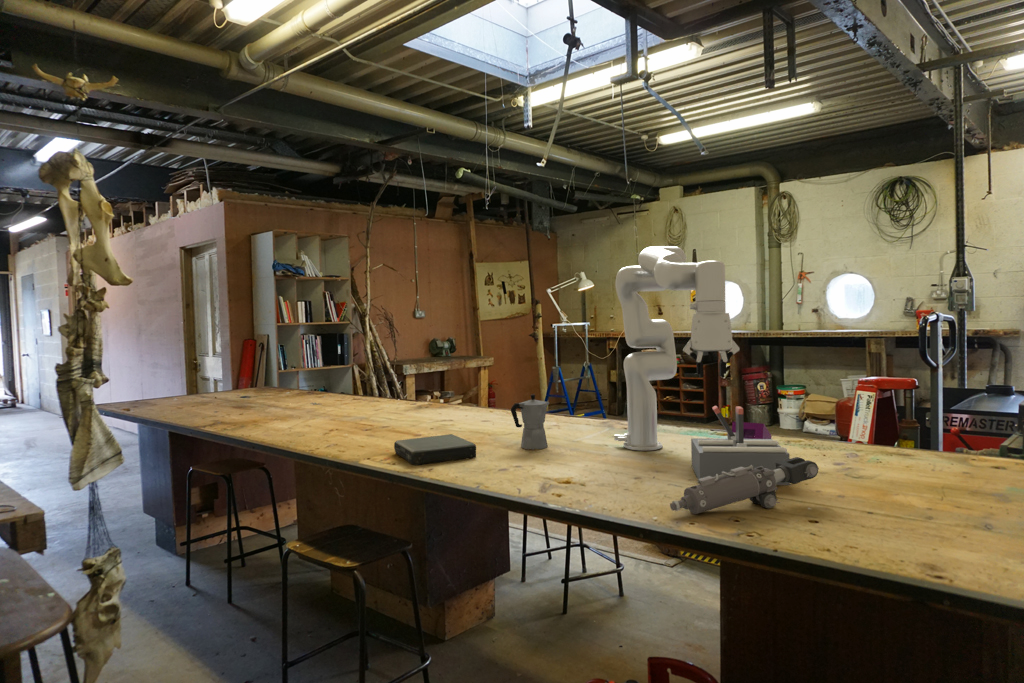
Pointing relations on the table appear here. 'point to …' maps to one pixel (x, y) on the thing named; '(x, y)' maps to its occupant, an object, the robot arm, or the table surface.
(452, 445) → the network switch
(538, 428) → the coffeepot
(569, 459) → the table surface
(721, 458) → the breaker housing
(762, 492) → the hydraulic cylinder
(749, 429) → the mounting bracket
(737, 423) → the lever
